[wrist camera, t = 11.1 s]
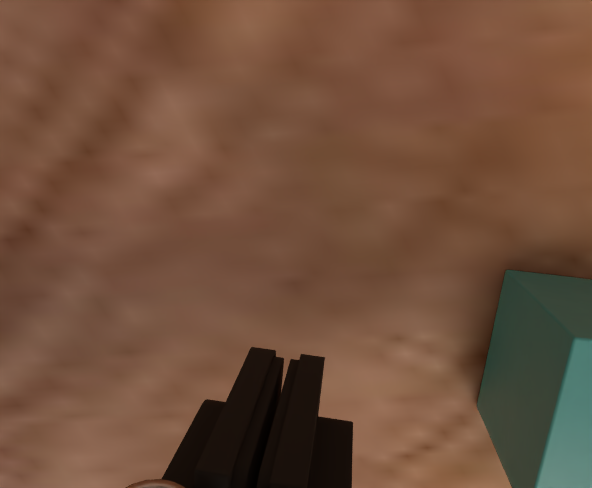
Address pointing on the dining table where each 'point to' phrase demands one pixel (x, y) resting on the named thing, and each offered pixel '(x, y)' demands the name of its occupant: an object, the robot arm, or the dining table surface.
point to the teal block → (541, 381)
